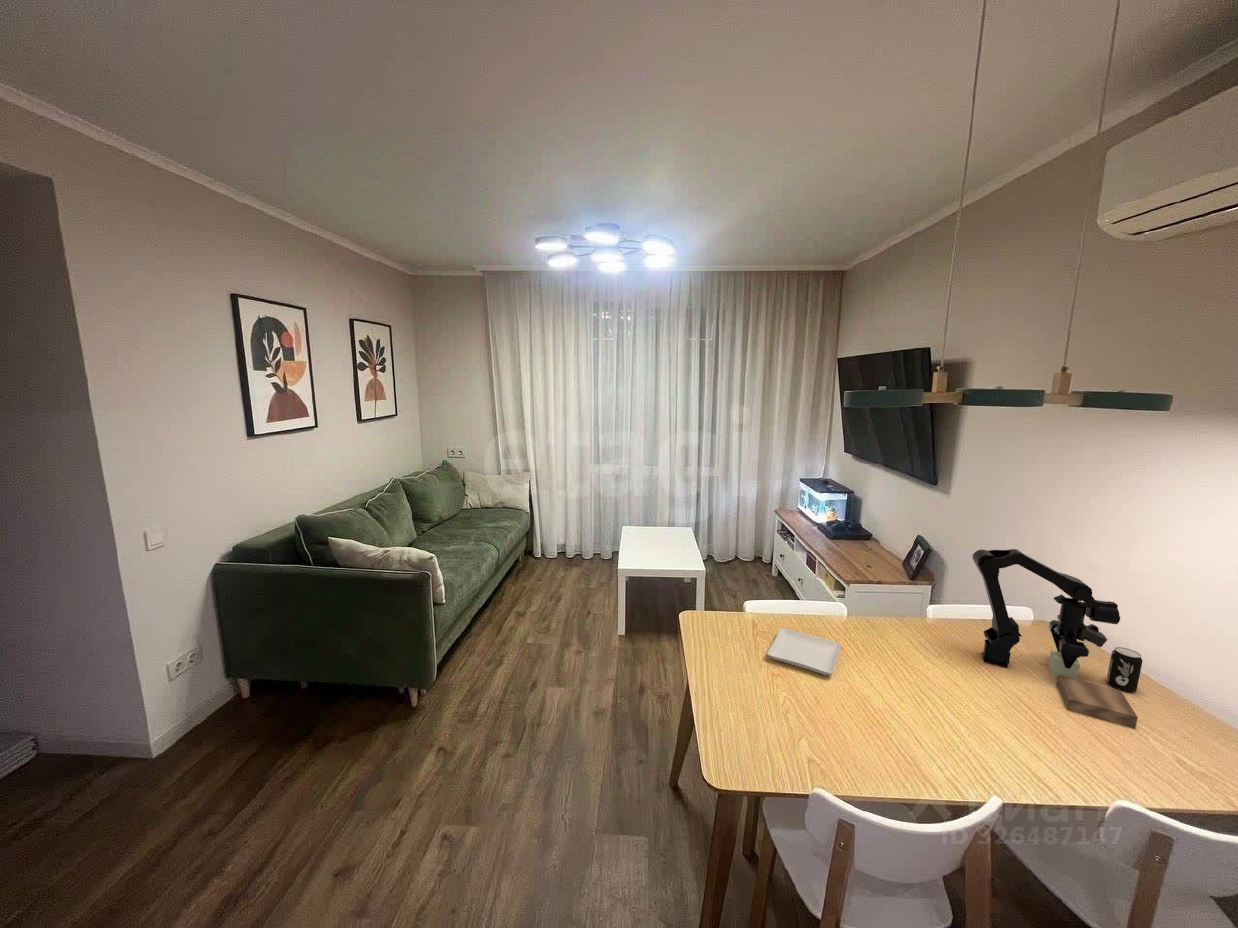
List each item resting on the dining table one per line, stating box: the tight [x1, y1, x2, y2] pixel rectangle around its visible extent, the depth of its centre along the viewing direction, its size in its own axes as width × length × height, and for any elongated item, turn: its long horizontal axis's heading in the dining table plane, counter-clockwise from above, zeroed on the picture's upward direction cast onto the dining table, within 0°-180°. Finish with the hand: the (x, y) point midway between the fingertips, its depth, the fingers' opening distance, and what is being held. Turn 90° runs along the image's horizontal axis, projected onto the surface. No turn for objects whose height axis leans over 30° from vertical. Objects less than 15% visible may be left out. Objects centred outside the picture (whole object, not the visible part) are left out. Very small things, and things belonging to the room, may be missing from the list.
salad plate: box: [766, 627, 842, 676], centre depth 164 cm, size 21×21×3 cm
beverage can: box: [1106, 646, 1143, 693], centre depth 147 cm, size 7×7×12 cm
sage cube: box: [1047, 649, 1081, 680], centre depth 154 cm, size 6×6×6 cm
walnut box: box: [1055, 675, 1139, 730], centre depth 139 cm, size 14×14×4 cm
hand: (1063, 661), depth 154 cm, fingers open, 9 cm apart
